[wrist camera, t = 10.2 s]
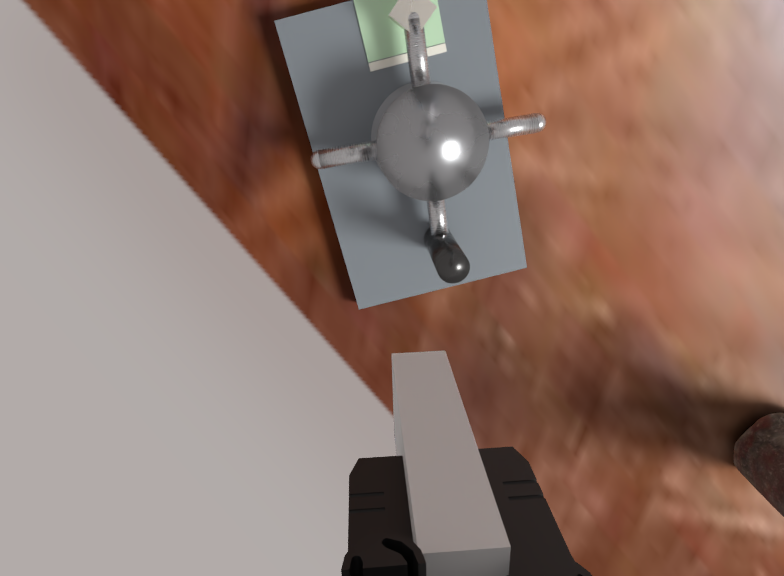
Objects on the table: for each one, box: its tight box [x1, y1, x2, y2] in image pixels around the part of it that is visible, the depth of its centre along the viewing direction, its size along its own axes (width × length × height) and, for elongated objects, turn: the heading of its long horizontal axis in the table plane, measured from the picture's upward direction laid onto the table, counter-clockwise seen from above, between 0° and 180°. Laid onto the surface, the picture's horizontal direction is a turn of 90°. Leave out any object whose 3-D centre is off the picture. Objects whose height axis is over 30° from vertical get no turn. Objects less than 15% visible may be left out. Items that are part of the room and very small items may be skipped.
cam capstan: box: [311, 0, 546, 283], centre depth 31 cm, size 15×17×7 cm
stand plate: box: [274, 0, 527, 309], centre depth 35 cm, size 20×13×1 cm, turn 14°
